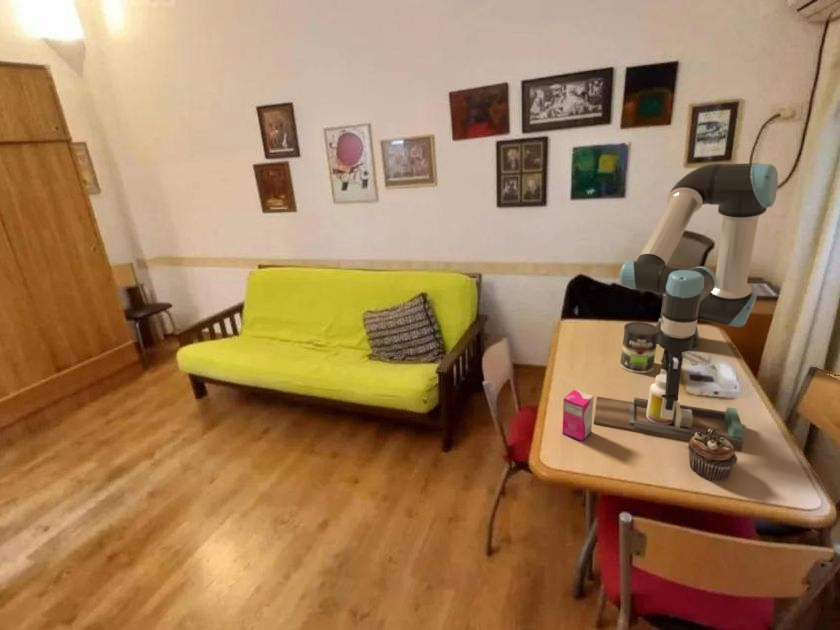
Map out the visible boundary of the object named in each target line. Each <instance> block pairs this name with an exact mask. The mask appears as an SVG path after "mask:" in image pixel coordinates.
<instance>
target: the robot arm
mask: <svg viewBox="0 0 840 630" xmlns="http://www.w3.org/2000/svg"><path fill="white" fill-rule="evenodd" d="M778 183H779V175H778V170H777V167H776V166H775V165H774V164H771V163H760V162H759V163H758V162H751V163H749V162H748V163H710V164H705V165H702V166H701V167H700V166H699V167H697V168H696V169H694V170H692V171H690V172H689V173H687V174H686V175H685V176H683V177H682V178H681V179H680V180H678V181H677V182H676V184H675V185H674V186H673V187H672V189H671V190H670V192H669V194H668V195H667V198H666V200H667V205H666V207H665V208H664V210H663V212H662V213H661V216H660V217H659V219H658V221H657V223H656V224H655V226H654V228H653V230H652V232H651V233H650V235H649V237H648V239H647V241H646V242H645V244H644V247H643V248H642V250H641V251H640V253H639V256H638V257H637V259H636V260H626V261H625V262H624V263H623V264H622V266H621V268H620V272H619V282H620V285H621V286H623V287H624V288H625V287H626V288H629V289H632V290H635V291H636V290H639V291H645V292H650V293H657V294H662V295H663V296H662V303H661V308H660V309H661V311H660V315H659V316H660V317H659V318H658V321H657V323H656V325H655V326H656V327H658V328H659V334H658V340H657V344H658V345H659V347H661V348H662V349H664V350H663V354H662V356H661V360H660V362H661V365H660V367H661V369H660V373H659V374H666V390H665V395H662V397H663V404H662V410H661V416H660V417H661V418H664V419H670V420H673V415H674V410H675V404H676V401H678V397H679V391H680V381H681V372H682V365H683V359H684V358H683V357H684V356H683V354H682V353H686V352H690V351H691V349H693V348H697V347H698V345H699V342H700V333H699V330H698V320H700V321H706V322H709V323H716V324H722V325H725V326H728V327H729V326H731V327H736V328H740V327H744V326H745V324H746V323H747V320H748V319H749V316H750V315H751V312H752V311H753V307H754V305H755V303H756V301H757V297H758V295H757V294H756V293H753V292H752V286H751V285H750V284H749V283H748V279H749V273H750V267H751V261H752V255H753V250H754V246H755V245H754V244H755V238H756V232H757V229H758V222H759V217H760V216H762V215H763V214H765V213H766V211H767V209H768V208H772V207H773V206H774V204H775V202H776V199H777V192H778V187H779V184H778ZM703 205H711V206H712V205H713V206H715V205H716V206H718V208H717V210H718V211H717V213H718V214H719V215H720V216H721V217H722V224H721V231H720V239H719V240H720V241H719V248H718V255H717V263H716V270H715V272H714V270H712V269H710V268H709V267H706V266H703V265H702V266H701V265H700V266H695V267H692V268H684V267H677V266H670V265H667V264H669V261H670V259H671V257H672V255H673V253H674V252H675V251H676V250H675V249H676V248H677V246H678V244H679V242H680V240H681V238H682V237H683V234H684V233H685V231H686V229H687V226H688V225H689V223H690V222H691V219H692V217H693V216H694V214H695V213H696V212H698V211H699V210H701V208H702V206H703Z"/></svg>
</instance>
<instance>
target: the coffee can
mask: <svg viewBox="0 0 840 630" xmlns="http://www.w3.org/2000/svg"><path fill="white" fill-rule="evenodd" d="M658 334H659V328H658V327H656V325H655V324H652V323H648V322H643V321H642V322H641V321H632V322H627V323H625V324H624V326H623V338H622V339H623V340H622V346H621V347H622V348H621V354H620V361H619V365H620V367H621V368H622V369H624V370H626V371H627V372H630V373H634V374H635V373H637V374H647V373H650V372H652V371H653V370H654V363H655V358H656V352H657V351H656V350H657V344H658V343H657V340H658Z"/></svg>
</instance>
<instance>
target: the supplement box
mask: <svg viewBox="0 0 840 630" xmlns="http://www.w3.org/2000/svg"><path fill="white" fill-rule="evenodd" d="M562 405H563V407H562V411H563V412H562V430H561V431H562V434H563V435H565V436H567V437H569V438H571V439H574V440H576V441H579V442H581V443H582V442H584V440H585V439H586V438H587V437H588V436H589V435H590V434H591V433H592V427H593V425H592V423H593V412H594V411H593V409H594V395H591V394H588V393H585V392H582V391H579V390H577V389H573V390H571V391H570V392H569V393H568V394H567V395H566V396H565V397H564V398H563V404H562Z"/></svg>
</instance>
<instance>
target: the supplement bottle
mask: <svg viewBox="0 0 840 630" xmlns="http://www.w3.org/2000/svg"><path fill="white" fill-rule="evenodd" d="M654 380H655V382H654V383H652V384H651V385H650V386H649V392H648V393H649V394H648V399H647V400H648V405H647V411H646V417H647V419H648V420H649V421H651V422H652V423H656V424H661V425H669V424H671V423H672V422H673V420H670V419H664V418H661V417H660V416H661V410H662V404H663V397H662V395H665V390H666V374H660V373H659V374H657V375H656V376H655V379H654ZM676 402H677V401H676ZM675 408H676V404H675ZM674 414H675V410H674ZM673 419H674V415H673Z"/></svg>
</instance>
